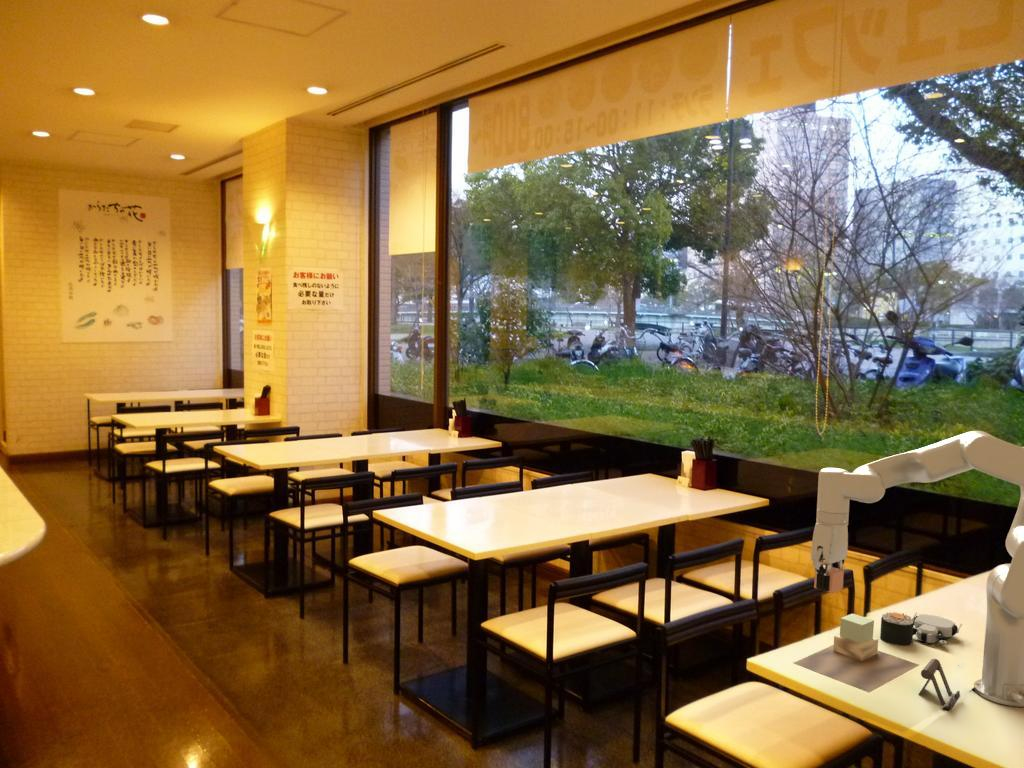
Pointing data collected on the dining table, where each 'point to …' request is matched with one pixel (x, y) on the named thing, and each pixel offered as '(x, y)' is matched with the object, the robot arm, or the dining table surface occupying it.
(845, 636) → the green block
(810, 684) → the dining table surface
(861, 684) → the walnut board
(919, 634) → the robot toy
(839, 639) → the birch base block
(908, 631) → the sushi
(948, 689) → the portable electronic device stand
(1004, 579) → the robot arm
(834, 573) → the terracotta block
